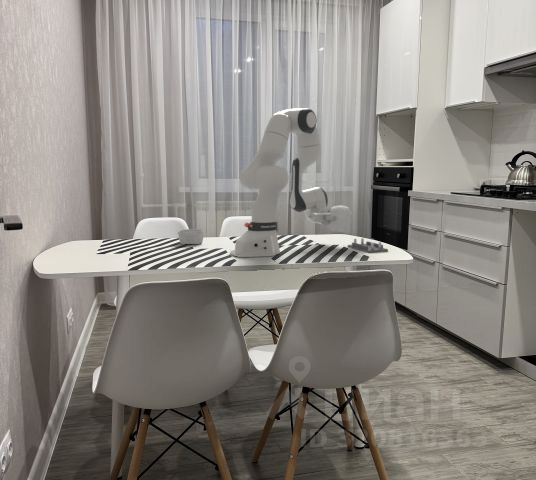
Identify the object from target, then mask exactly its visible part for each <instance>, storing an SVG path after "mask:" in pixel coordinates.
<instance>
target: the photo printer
mask: <svg viewBox="0 0 536 480" xmlns="http://www.w3.org/2000/svg"><path fill="white" fill-rule="evenodd" d="M330 208H331V216H335V220H330V224H329V225H330V227H329V231H330V232H333V233H341V234H349V233H351V222H352V220H351V213H352V211H351V208H350V207H348V206H346V205H341V204H340V205H335V206H332V207H330Z"/></svg>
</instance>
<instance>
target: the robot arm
mask: <svg viewBox="0 0 536 480" xmlns="http://www.w3.org/2000/svg"><path fill="white" fill-rule="evenodd" d="M317 119H318V118H317V114H316V113H315V112H314V109H313V110H312V109H311V108H306V107H303V108H289V109H282V110H278V111H277V112H276V113H274V114H273V115H271V117H270V119H269V120H268V123H267V124H266V126H265V130H264V133H263V135H262V138H261V142H260V144H259V147H258V150H257V152H256V154H255V155H254V157H253V158H252V160H250V162H249V164H247V165H246V166H245V167H244V168H243V169H241V171H240V174H239V182H240V184H241V186H242V187H244V188H246V189H248V190H251V191H258V194H257V198H256V199H255V200H254V201H253V202H252V204H251V221H250V222H245V223H244V224H243V226H244V227H245V228H247V231H245V232H244V233H243V234H241V236H239V237H238V238H237V239H236V241H235V244H234V250H230V251H229V254H230V256H233V255H234V256H233V257H235V256H237V257H236V258H255V257H256V258H258V257H259V258H260V257H274V256H277V255H278V254H280V253H281V250H280V245H279V239H278V230H279V227H278V221H277V207H278V201H279V197H280V195H281V193H282V191H283V190H284V189H285V188H286V187H287V185H288V183H289V174H288V171H287V169H286V168H285V167H284V166H279V165H276V163H278V162H279V161H280V160H281V159H282V158H283V157H284V155H285V151H286V148H287V144H288V141H289V138H290V134H295V135H296V147H297V148H296V149H297V153H296V156H295V158H293V160H292V165H291V179H290V180H291V181H290V182H291V183H290V185H291V186H290V195H289V204H290V205H289V206H290V207H291V209H292V210H293V211H295V212H298V213H301V212H304V216H305V218H306V219H307V220H308V221H309V222H311V223H313V224H319V225H324V226H329V225H330V220H335V216H331V208H332V207H331V206H328V202H329V199H328V195H327V192H326V191H325V190H324V189H323V188H322V187H320V186H316V187H312V188H311V187H310V188H308V189H302V183H303V173H304V172H305V170H306V169H308V168H309V167H310V166H312V165H313V164H315V163H316V162H317V161H318V160H319V158H320V156H321V154H322V153H321V151H322V149H321V141H320V140H321V139H320V134H319V131H318V129H317ZM352 220H353V212H351V221H352Z"/></svg>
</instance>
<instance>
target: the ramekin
mask: <svg viewBox="0 0 536 480" xmlns="http://www.w3.org/2000/svg"><path fill="white" fill-rule="evenodd" d="M204 233H205V231H204V229H202V228H201V229H200V228H189V229H181V230H178V231H177V234H178V241H179V244H180V243H181V244H199V245H201V244H203V241H204ZM200 243H201V244H200ZM181 244H180V245H181Z"/></svg>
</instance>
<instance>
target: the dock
mask: <svg viewBox="0 0 536 480" xmlns="http://www.w3.org/2000/svg"><path fill="white" fill-rule="evenodd" d="M364 242H365V240H364V238H363V237H362V238H361V239H360V243H357V238H353V242H351V244H347V248H349V249H353V250H357V251H361V252H363V253H368V254H371V253H373V254H374V253H381V251H385V252H389V250H388V249H389V248H385V247H384V245H383V244H382V242H381V241H378V243H376V242H372V241H368V240H367V241H366V242H365V243H364Z"/></svg>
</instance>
